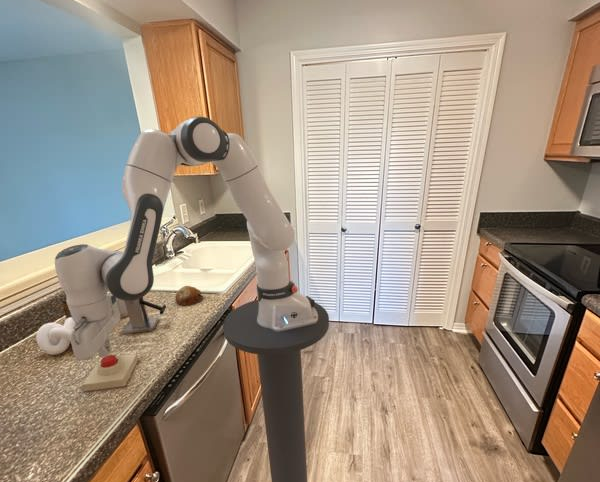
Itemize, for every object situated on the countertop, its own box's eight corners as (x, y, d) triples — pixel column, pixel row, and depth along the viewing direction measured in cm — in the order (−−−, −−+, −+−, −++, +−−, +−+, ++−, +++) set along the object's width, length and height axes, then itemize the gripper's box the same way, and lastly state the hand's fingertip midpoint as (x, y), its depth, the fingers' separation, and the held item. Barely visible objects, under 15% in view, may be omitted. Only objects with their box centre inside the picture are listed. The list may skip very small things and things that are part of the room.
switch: (165, 309, 117) (167, 304, 116) (161, 316, 112) (164, 310, 112) (130, 297, 113) (133, 291, 112) (126, 303, 108) (128, 297, 108)
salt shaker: (134, 313, 125) (125, 282, 120) (121, 320, 120) (111, 288, 115) (123, 311, 128) (114, 280, 122) (110, 317, 123) (100, 286, 118)
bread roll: (188, 302, 140) (177, 287, 138) (207, 293, 138) (196, 277, 135) (179, 313, 131) (167, 297, 129) (200, 303, 129) (188, 287, 126)
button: (119, 359, 91) (117, 354, 90) (114, 366, 88) (112, 361, 87) (105, 360, 91) (103, 355, 90) (100, 368, 87) (98, 363, 87)
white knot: (97, 339, 108) (89, 316, 105) (64, 361, 98) (54, 335, 94) (72, 335, 111) (63, 312, 108) (37, 356, 101) (26, 331, 97)
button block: (138, 359, 97) (135, 348, 95) (125, 386, 86) (121, 373, 84) (103, 363, 96) (99, 352, 94) (84, 391, 85) (80, 379, 83)
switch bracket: (158, 319, 119) (151, 288, 114) (153, 330, 112) (144, 297, 107) (130, 322, 118) (121, 291, 113) (122, 334, 111) (112, 300, 106)
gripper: (86, 327, 73) (103, 376, 79) (118, 292, 92) (130, 333, 98) (56, 330, 73) (75, 380, 78) (94, 294, 91) (108, 336, 97)
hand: (106, 354), depth 88 cm, fingers closed
